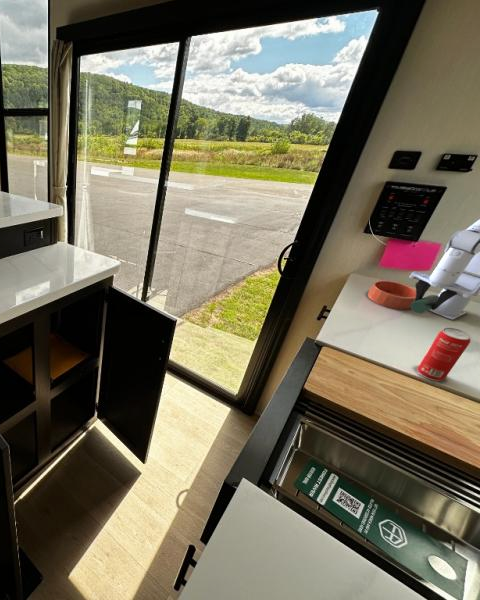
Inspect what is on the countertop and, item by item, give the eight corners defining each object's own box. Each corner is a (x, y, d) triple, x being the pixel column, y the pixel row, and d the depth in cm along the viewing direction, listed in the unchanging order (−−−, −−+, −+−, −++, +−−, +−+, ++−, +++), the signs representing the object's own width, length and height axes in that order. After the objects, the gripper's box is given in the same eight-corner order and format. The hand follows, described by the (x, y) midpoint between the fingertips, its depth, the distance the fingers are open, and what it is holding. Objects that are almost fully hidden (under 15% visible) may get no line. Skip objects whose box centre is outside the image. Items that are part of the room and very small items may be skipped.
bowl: (380, 288, 130) (386, 277, 128) (419, 304, 120) (427, 292, 117) (360, 295, 126) (365, 285, 123) (399, 313, 116) (406, 301, 113)
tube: (422, 302, 109) (429, 292, 107) (437, 308, 106) (444, 298, 104) (408, 309, 106) (414, 299, 104) (422, 315, 103) (429, 305, 101)
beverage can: (448, 383, 88) (484, 342, 80) (421, 380, 89) (453, 339, 81) (433, 368, 93) (465, 327, 85) (407, 365, 94) (437, 325, 86)
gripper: (413, 262, 102) (392, 297, 110) (475, 282, 91) (447, 320, 98) (425, 258, 105) (404, 292, 112) (487, 276, 93) (458, 314, 101)
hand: (425, 305), depth 105 cm, fingers closed on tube, 4 cm apart
